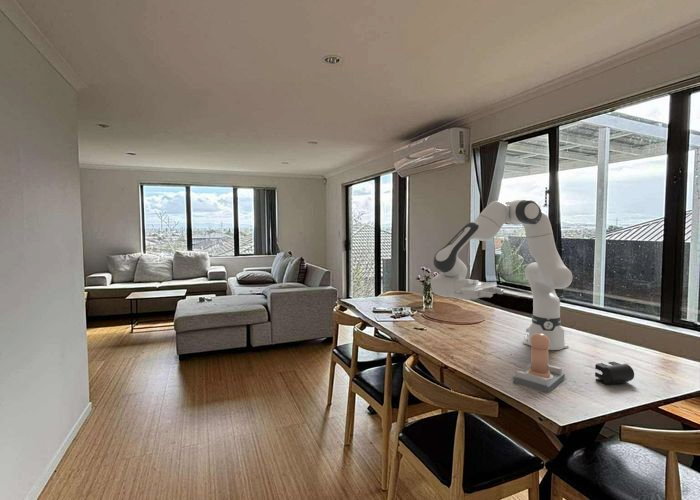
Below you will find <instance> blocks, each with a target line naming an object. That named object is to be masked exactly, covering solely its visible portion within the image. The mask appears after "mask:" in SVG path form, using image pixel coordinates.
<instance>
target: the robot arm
mask: <svg viewBox="0 0 700 500" xmlns="http://www.w3.org/2000/svg"><path fill="white" fill-rule="evenodd" d="M504 224H505V225H508V226H509V225H514V226H517V225H522V226H523V227H524V230H525V236H526V237H525V238H526V243H527V247H528V251H529V255H531V257H533V259H534V260H535V261H534V262H531V263H528V265H526V267H525V269H524V276H525V278H526V279H527V280H528V284H529V286H530V291H531V294H532V301H533V302H532V307H533V309H532V315H531V324H530V325H529V326H528V327H526V328H525V333H527V334H525V337H524V339H523V344H524V345H528V346H531V343H530V339H531V337H532V335H534V334H536V333H543V334H545V335H546V336H547V337H548V338H549V340H550V346H549V347H548V349H549V350H548V351H559V350H562V349H568V348H569V344H567V343H566V342H565V329H564V328H563V327H562V326H561V325H562V323H561V322H562V317H561V299H560V297H558V295H557V293H556V289H557V290H559V289H561V290H562V289H566V288H568V287H569V286H570V285H571V283H572V281H573V277H574V276H573V273H572V271H571V270H570V269H569V268H568V267H567V266H566V265H565V264H564V261H563V260H562V257H561V256H560V254H559V252H558V250H557V246H556V242H555V238H554V233H553V232H554V231H553V229H552V224H551V221H550V218H549V216H548V214H547V212H545V211H543V210H542V209H541V206H540V204H538V202H536V200H533V199H529V198H526V199H515V200H512V201H507V202H503V201H500V200H494V201H491V202H490V203H489V204H488V205H487V206H485V208H483V209H482V211H481V212H480V213H479V215H478V216H477V217H476V218H475V220H473V221H471V222H469V223H466V224H465V225H464V226H463V227H461V229H459V231H458V232H457V233H456V234H455V235H454V236H453V237H452V238H451V240H450V241H448V242H447V244H446V245H444V246H443V247H441V249H439V250H438V251H437V252H436V253H435V254H434V255H433V260H432V261H433V265H434V267H435V269H437V270H438V271H439V272H440V273H438V274H437V275H435V276H433V277H432V278H431V280H430V288H431V291H432V292H433V293H434V294H436V295H438V296H441V297H446V298H455V299H459V300H464V301H470V300H477V299H480V298H492V297H493V296H494V294H497V295H503V294H504V290H505V289H502V288H497V284H494V283H490V282H485V281H479V280H478V279H470V278H467V275H468V266H467V265H466V264H465V263H464V262H463V261H462V260H461V259H460V258H459V253H460V251H461V250H462V249H463V248H464V247H465V246H466V245H468V243H469V242H470V241H471V240H474V239H475V240H478V241H481V242H487V241H491V240H493V238H494V237H496V236H497V234H498V233H499V232H500V230H501V228H503V225H504Z"/></svg>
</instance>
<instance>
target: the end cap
mask: <svg viewBox="0 0 700 500" xmlns="http://www.w3.org/2000/svg"><path fill="white" fill-rule="evenodd" d="M594 369H595V370H597V371H600V372H601V373H599V372H597V371H595V372H594V376H595V381H596V382H598V383H600V384H603V385H605V386H609V385H616V384H623V383H624V384H625V383H628V382H630V381H632V380H634V378H635V372H634V371H635V370H634V369H633V367H632V366H631V365H629V364H628V363H622V364H621V363H618V362H616V361H608V364H605V363H602V362H600V363H596V364H595V368H594Z"/></svg>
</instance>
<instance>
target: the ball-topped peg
mask: <svg viewBox="0 0 700 500" xmlns="http://www.w3.org/2000/svg"><path fill="white" fill-rule="evenodd" d="M530 343H531V347H530V348H531V349H530V365H531V367H530V368H529V374H533V375H537V376H540V377H544V378H549V377H550V371H549V370H548V365H549V351H550V350H549V349H548V347H549V346H550V340H549V338H548V337H547V336H546V335H545V334H543V333H536V334H534V335H532V337H531V339H530Z"/></svg>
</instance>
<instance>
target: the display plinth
mask: <svg viewBox="0 0 700 500" xmlns="http://www.w3.org/2000/svg"><path fill="white" fill-rule="evenodd" d="M530 367H531V364H530V365H529V366H527V367H526V368H524V369H523V370H517V371H516V374H515V375H513V377H512V378H513V379H512V380H513V381H512V382H513V383H515V384H519V385H521V386H525V387H528V388H532V389H535V390H539V391H541V392H544V393H545V392H546V393H550V392H551V391H552V390H554V389H555V388H556V387H557V386H558V385H559V384H561V383H562V382H563V381H564V380H565V377H566V376H565V373H563V372H562V367H560V366H555V365H551V364H548V370H549V371H550V377H549V378H544V377H540V376H537V375H533V374H529V368H530Z"/></svg>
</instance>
